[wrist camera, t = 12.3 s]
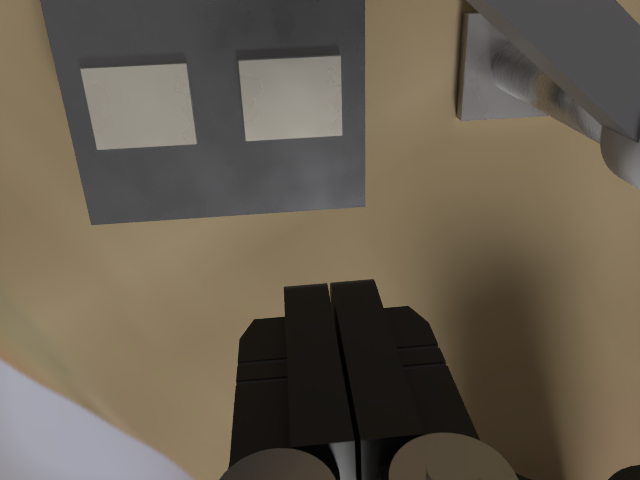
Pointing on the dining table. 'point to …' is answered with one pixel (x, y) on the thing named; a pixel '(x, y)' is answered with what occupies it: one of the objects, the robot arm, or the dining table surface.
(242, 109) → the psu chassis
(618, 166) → the bar
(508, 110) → the hinge post
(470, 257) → the dining table surface
